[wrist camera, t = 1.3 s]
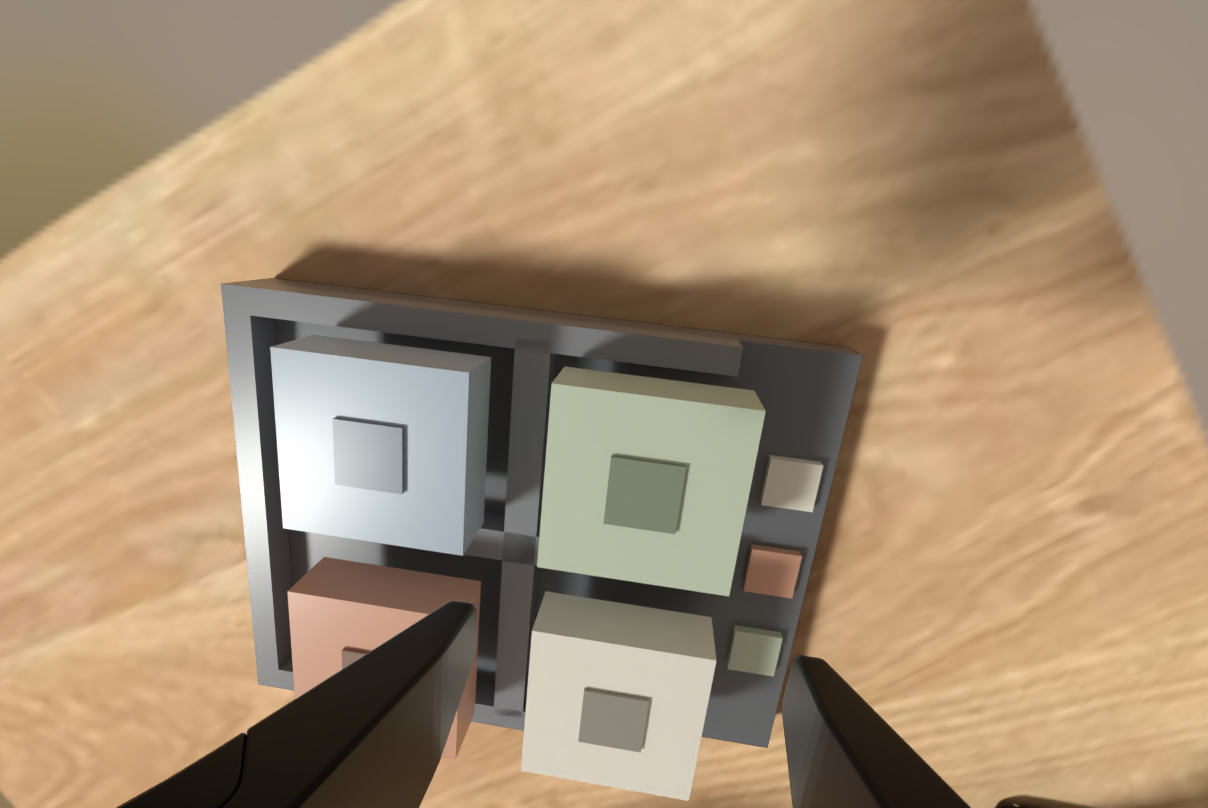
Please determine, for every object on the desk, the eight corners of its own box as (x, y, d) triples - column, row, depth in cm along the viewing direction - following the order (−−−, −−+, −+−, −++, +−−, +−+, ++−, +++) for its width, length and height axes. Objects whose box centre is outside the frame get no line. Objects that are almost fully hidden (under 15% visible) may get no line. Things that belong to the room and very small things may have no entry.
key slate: (491, 357, 15) (467, 373, 13) (483, 523, 17) (461, 558, 15) (314, 334, 16) (266, 347, 14) (321, 498, 17) (280, 530, 15)
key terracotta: (481, 581, 17) (458, 621, 16) (474, 711, 19) (454, 762, 17) (324, 556, 18) (284, 593, 16) (330, 686, 19) (294, 733, 17)
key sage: (754, 390, 15) (766, 412, 13) (722, 558, 16) (729, 599, 14) (564, 366, 15) (550, 384, 13) (550, 533, 17) (536, 569, 15)
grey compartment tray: (849, 347, 17) (875, 363, 15) (761, 720, 21) (772, 774, 19) (272, 277, 18) (221, 283, 16) (296, 642, 22) (258, 684, 20)
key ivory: (711, 617, 17) (716, 663, 15) (687, 747, 18) (689, 804, 17) (545, 591, 17) (531, 633, 15) (534, 721, 19) (519, 774, 17)
